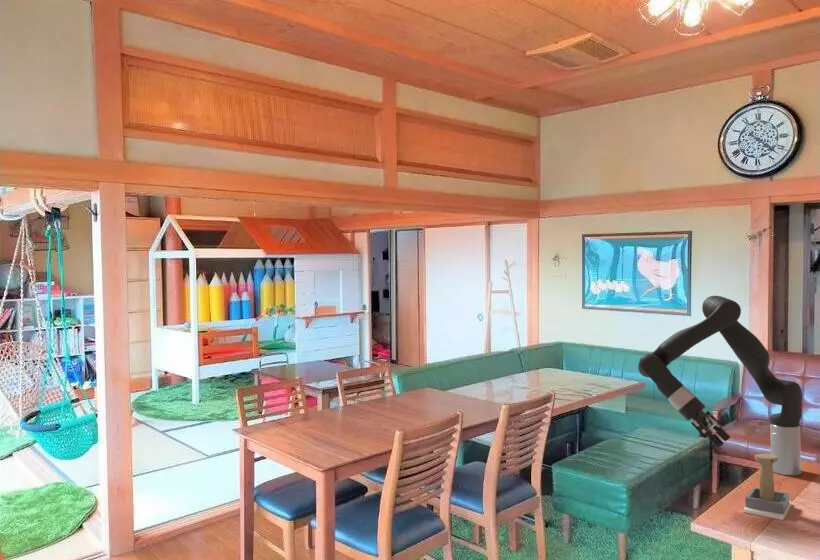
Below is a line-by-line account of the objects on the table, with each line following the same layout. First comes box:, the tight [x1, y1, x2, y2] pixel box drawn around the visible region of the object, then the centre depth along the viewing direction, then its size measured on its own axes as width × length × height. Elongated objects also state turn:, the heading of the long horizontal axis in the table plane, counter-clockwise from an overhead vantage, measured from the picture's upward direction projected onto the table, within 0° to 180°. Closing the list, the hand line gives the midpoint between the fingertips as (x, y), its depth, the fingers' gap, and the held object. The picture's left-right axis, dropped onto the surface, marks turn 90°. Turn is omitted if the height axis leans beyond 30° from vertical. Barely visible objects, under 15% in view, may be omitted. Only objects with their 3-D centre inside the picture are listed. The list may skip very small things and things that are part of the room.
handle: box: [754, 453, 778, 501], centre depth 187 cm, size 5×6×15 cm
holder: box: [743, 486, 792, 521], centre depth 187 cm, size 15×10×4 cm
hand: (724, 442), depth 194 cm, fingers open, 8 cm apart
